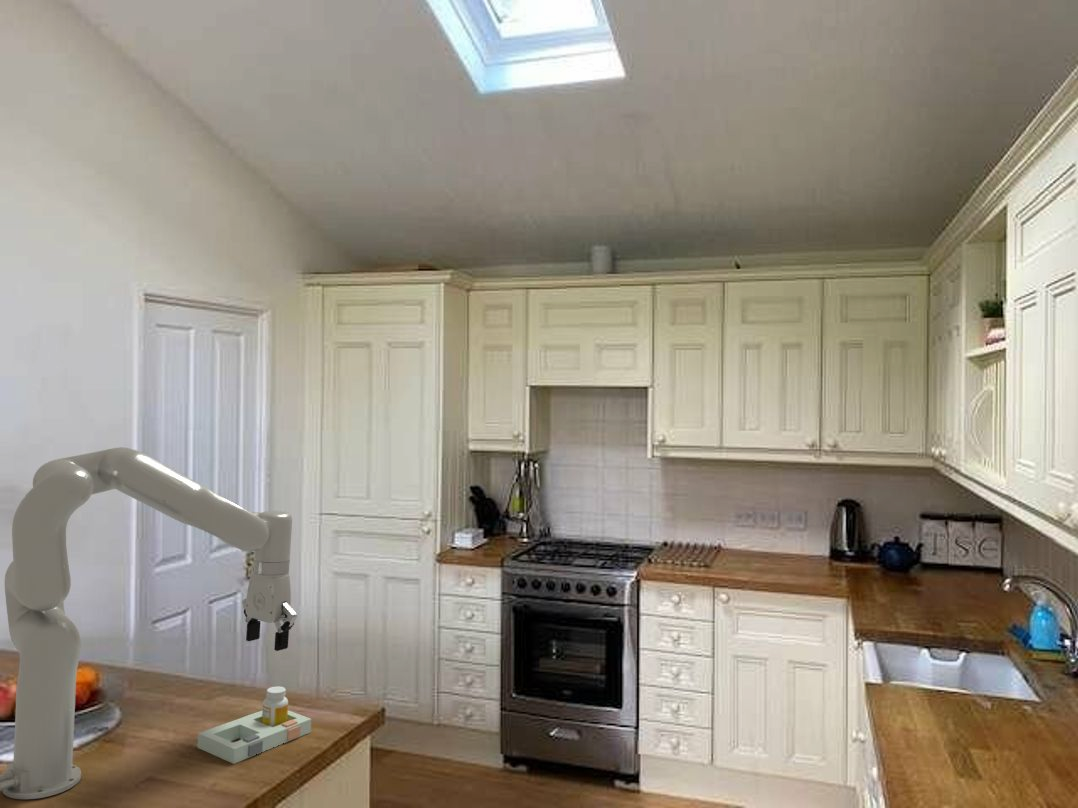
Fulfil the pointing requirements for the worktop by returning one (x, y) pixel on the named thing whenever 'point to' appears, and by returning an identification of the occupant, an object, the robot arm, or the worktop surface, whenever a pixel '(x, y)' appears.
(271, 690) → the supplement bottle
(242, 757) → the socket board
